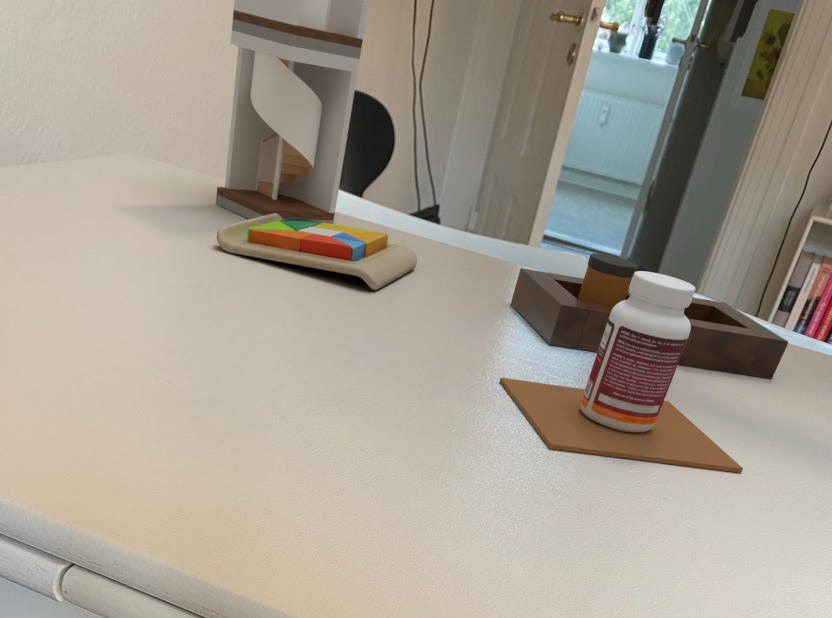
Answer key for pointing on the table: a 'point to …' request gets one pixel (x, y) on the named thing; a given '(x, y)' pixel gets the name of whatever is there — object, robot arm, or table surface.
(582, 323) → the bottle rack
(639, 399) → the pill bottle
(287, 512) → the table surface
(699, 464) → the cork mat
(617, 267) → the spice jar
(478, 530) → the table surface
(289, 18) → the spiral staircase model
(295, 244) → the wooden puzzle
